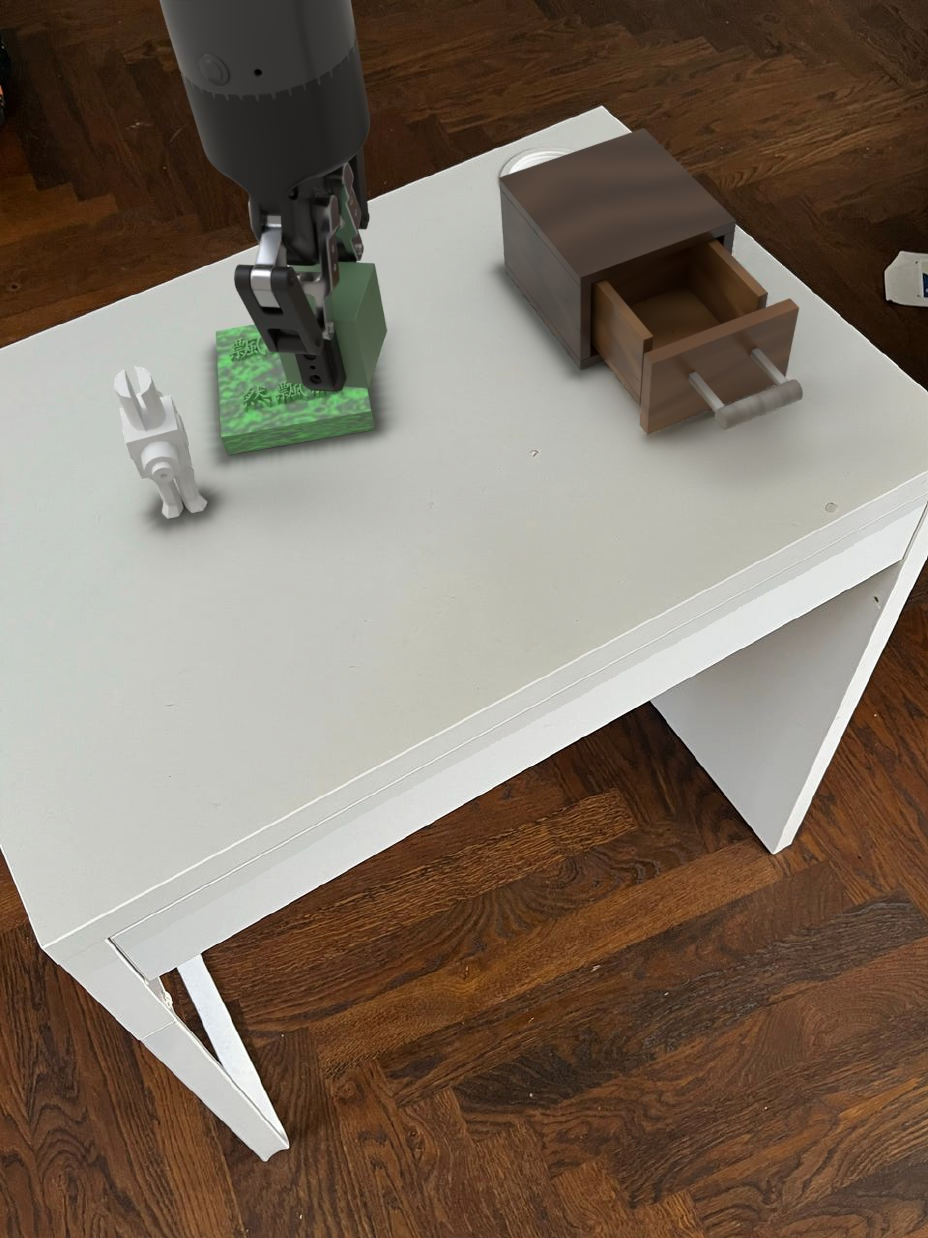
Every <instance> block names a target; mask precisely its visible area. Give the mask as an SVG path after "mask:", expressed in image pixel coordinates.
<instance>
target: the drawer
mask: <svg viewBox="0 0 928 1238" xmlns="http://www.w3.org/2000/svg"><path fill="white" fill-rule="evenodd" d="M768 296H769V292H768V291H767V289H765V288H764V287H763V285H761V284H760V283H759V281H758V280H757V279H756V278H755V277H753V275H752V274H750V272H749V271H748V270H747V269H746V268H745V267H744V266H743V265H742V264H741V263H740V262H739V261H738V260H737V259H736V258H735V257H734V255H733V254H732V255H731V254H730V253H729V252H728V251H727V250H726V249H725V248H724V247H723V246H722V245H721V243H720V242H719V241H718V240H717V239H716V238H714V239H711V240H708V241H706V242H703V243H700V244H697V245H695V246H692V247H689V248H687V249H684V250H681V251H678V252H676V253H673V254H670V255H667V256H665V257H662V258H659V259H656V260H654V261H651V262H648V263H645V264H643V265H640V266H637V267H634V268H632V269H629V270H626V271H623V272H621V273H618V274H615V275H612V276H610V277H607V278H604V279H601V280H599V281H596V282H593V283H591V337H590V342H591V344H592V345H593V346H594V348H595V349H596V350H597V351H598V353H599V354H600V355H601V357H602V358H603V359H604V362H605V363H606V364H607V366H608V368H610V369H611V371H612V372H613V373H614V374H615V376H616V377H617V378H618V380H619V381H620V382H621V384H622V385H623V386H624V388H625V389H626V390H627V391H628V392H629V394H630V395H631V396H632V397H633V399H634V401H636V403H637V404H638V406H640V414H639V427H640V428H641V429H642V430H643V432H644V433H645V434H646V436H649V435H652V434H654V433H656V432H659V431H662V430H664V429H665V430H666V429H667V428H669V427H672V426H675V425H677V424H680V423H682V422H685V421H687V420H690V419H691V418H692V419H693V418H694V417H697V416H700V415H702V414H705V413H708V412H710V411H713V412H714V418H715V421H716V424H717V426H718V427H719V429H720V430H722V431H726V430H729V429H731V428H735V427H736V426H739V425H741V424H744V423H746V422H749V421H752V420H754V419H757V418H760V417H762V416H764V415H766V414H769V413H772V412H774V411H777V410H778V409H782V408H784V407H786V406H789V405H792V404H794V403H796V402H799V401H801V400H802V399H803V397H804V392H803V387H802V385H801V383H800V382H799V381H798V380H797V379H794V378H793V379H790V380H788V379H787V372H788V368H789V361H790V357H791V352H792V347H793V343H794V338H795V331H796V327H797V326H796V325H797V321H798V316H799V312H800V306H798V305H797V304H796V303H795V301H793V300H792V298H790V297H789V298H787V299H784V300H782V301H779V302H776V303H773V304H770V305H768V306H767V302H768Z"/></svg>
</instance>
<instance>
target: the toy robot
mask: <svg viewBox="0 0 928 1238" xmlns="http://www.w3.org/2000/svg"><path fill="white" fill-rule="evenodd" d="M133 366H134V370H135V373H136V375H137V380H138V383H139V392H138V393H136V392H135V390H134V388H133V386H132V383H131V380H130V378H129V376H128V373H127V371H126V369H125V368H123V369H122V370H120V371H119V372H118V373H116V375H115V377H114V381H113V386H114V387H113V388H114V391H115V394H116V395H117V397H118V400H119V402H120V404H121V407H119V413H120V419H121V425H122V430H121V431H122V437H123V440H124V441H123V442H124V444H125V447H126V450H127V452H128V455H129V457H130V459H131V460H132V461H133V463H134V465H135V467H136V469H137V471H138V473H139V476H140V478H141V479H142V480H143V479H149V480H151V481H152V482H153V484H154V486H155V487H156V489H157V490H158V491H157V492H158V493H159V496H160V499H161V500H162V509H161V514H162V515H163V516H164V517H165V518H166V519H167V520H168V519H173V518H178V517H180V515H181V514H182V512H183V510H184V506H185V508H186V509H187V510H188V511H189V512H190V513H191V514H194V513H200V512H203V511H204V510H205V508H206V506H207V504H208V501H207V500H206V499H205V498H204V497H203V496H202V495H201V494H200V493H199V488H198V485H197V483H196V480H195V470H194V468H193V463H192V457H191V454H190V448H189V446H190V443H189V442H190V441H189V438H188V434H187V431H186V428H185V424H184V422H183V418H182V416H181V414H180V413H179V412H178V410H177V408H176V405H175V403H174V400H173V397H172V395H171V394H167V395H163V393H162V392H161V391H159V390H157V387H156V385H155V382H154V381H153V380H154V379H153V378H152V375H151V373H150V372H149V371H148V370H147V369H146V368H144V367H143V366H138V365H133ZM174 479H175V480H174ZM182 501H183V502H182ZM183 503H184V505H183Z"/></svg>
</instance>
